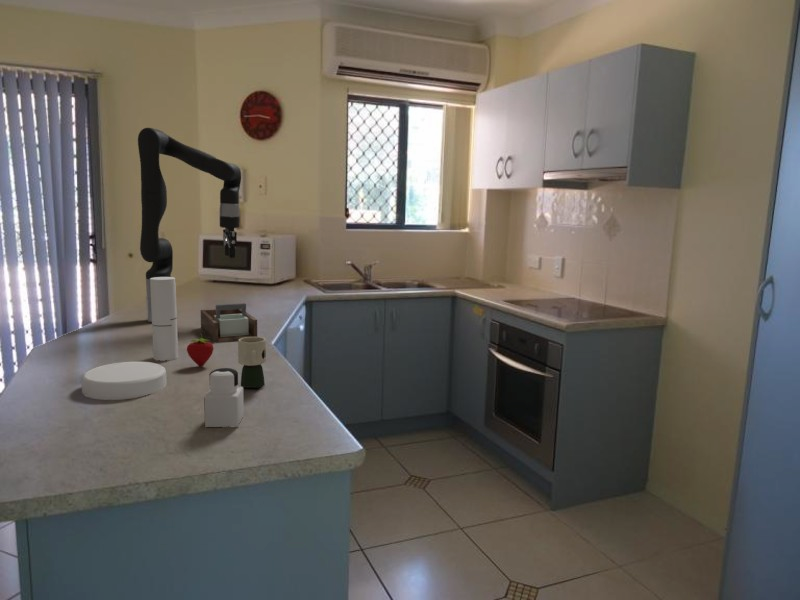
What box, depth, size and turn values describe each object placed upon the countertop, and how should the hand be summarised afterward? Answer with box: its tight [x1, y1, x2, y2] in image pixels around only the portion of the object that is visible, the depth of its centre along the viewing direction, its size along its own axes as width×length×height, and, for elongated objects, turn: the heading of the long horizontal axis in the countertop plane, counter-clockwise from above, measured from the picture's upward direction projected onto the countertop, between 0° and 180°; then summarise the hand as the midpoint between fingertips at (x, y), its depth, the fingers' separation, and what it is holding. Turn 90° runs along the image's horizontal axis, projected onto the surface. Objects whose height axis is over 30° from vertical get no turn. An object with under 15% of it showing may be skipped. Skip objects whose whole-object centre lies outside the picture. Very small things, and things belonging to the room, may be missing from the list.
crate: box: [214, 302, 249, 337], centre depth 208 cm, size 10×10×11 cm
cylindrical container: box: [150, 276, 179, 362], centre depth 176 cm, size 7×7×25 cm
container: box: [80, 361, 167, 401], centre depth 149 cm, size 20×20×5 cm
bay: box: [200, 308, 258, 343], centre depth 213 cm, size 15×26×7 cm, turn 29°
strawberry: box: [186, 334, 215, 367], centre depth 169 cm, size 6×8×10 cm
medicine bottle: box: [203, 367, 245, 428], centre depth 127 cm, size 7×7×12 cm
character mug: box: [237, 336, 267, 389], centre depth 152 cm, size 11×7×13 cm, turn 18°
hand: (229, 256), depth 226 cm, fingers open, 8 cm apart
